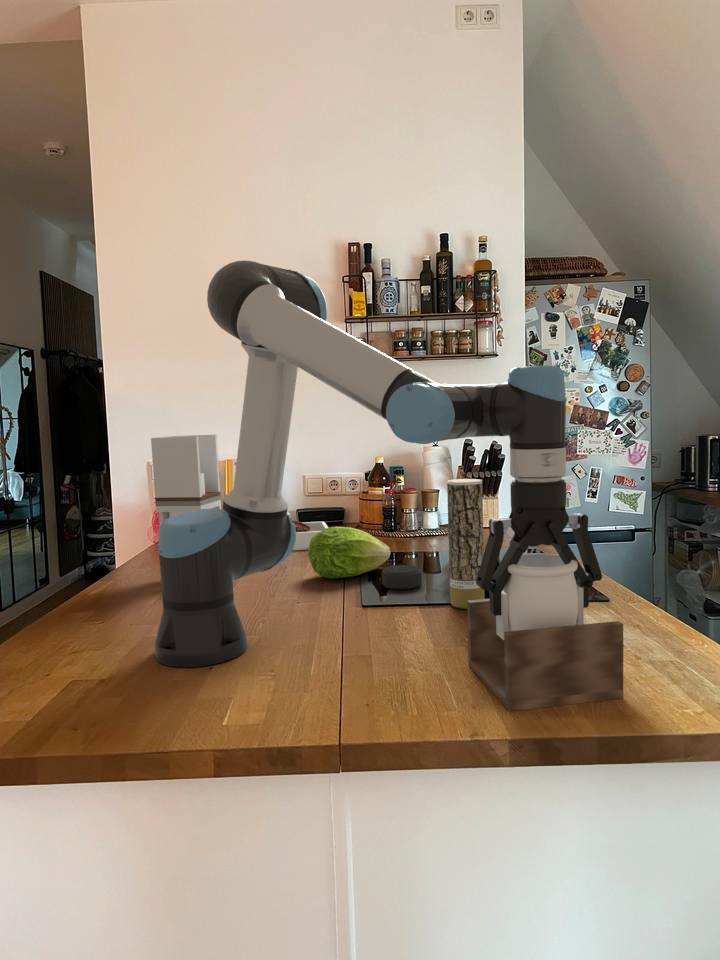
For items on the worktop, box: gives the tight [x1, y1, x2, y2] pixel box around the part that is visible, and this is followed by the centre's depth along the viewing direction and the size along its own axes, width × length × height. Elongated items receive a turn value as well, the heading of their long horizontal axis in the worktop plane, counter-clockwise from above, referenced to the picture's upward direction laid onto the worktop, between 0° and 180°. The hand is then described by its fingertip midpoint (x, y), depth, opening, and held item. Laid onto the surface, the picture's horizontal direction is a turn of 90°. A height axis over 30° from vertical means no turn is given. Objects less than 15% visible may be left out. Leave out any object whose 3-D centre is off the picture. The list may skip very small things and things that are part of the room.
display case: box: [150, 434, 222, 588], centre depth 163 cm, size 11×11×35 cm
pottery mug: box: [291, 519, 310, 533], centre depth 207 cm, size 12×10×8 cm
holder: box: [466, 598, 624, 712], centre depth 98 cm, size 16×16×10 cm
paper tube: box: [446, 478, 486, 610], centre depth 135 cm, size 7×7×25 cm
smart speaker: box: [381, 564, 423, 590], centre depth 154 cm, size 9×9×4 cm
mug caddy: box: [292, 520, 329, 552], centre depth 207 cm, size 16×18×5 cm
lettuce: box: [307, 526, 391, 580], centre depth 166 cm, size 13×22×14 cm
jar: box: [503, 552, 579, 631], centre depth 97 cm, size 11×10×15 cm
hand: (539, 633), depth 97 cm, fingers closed on jar, 10 cm apart
